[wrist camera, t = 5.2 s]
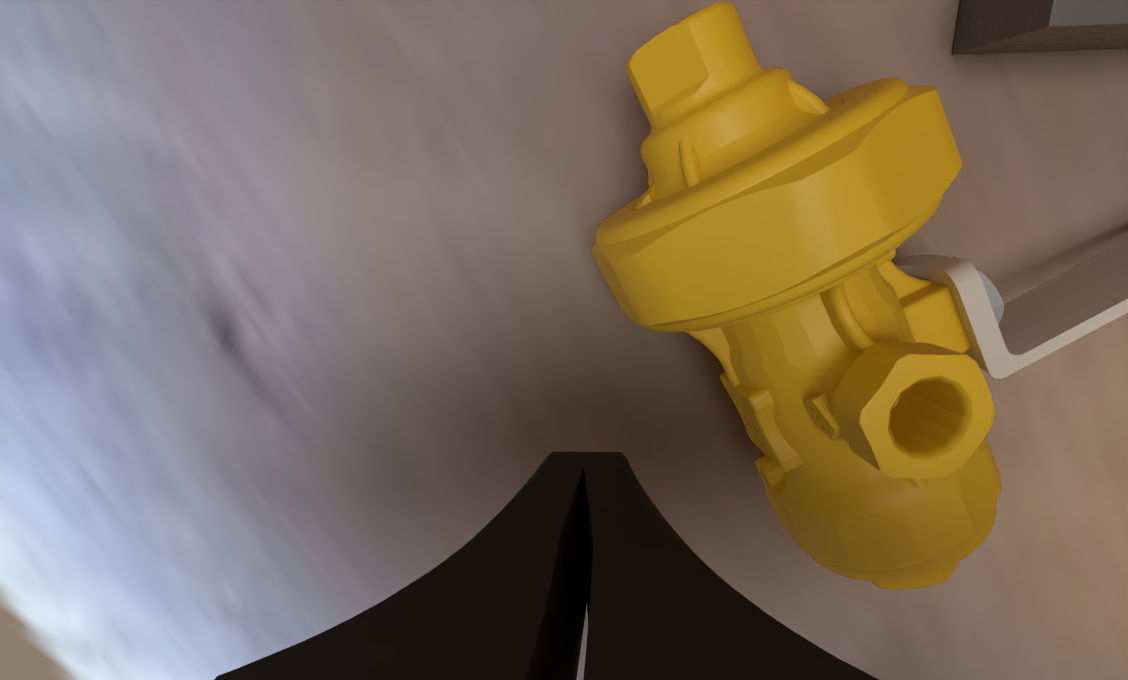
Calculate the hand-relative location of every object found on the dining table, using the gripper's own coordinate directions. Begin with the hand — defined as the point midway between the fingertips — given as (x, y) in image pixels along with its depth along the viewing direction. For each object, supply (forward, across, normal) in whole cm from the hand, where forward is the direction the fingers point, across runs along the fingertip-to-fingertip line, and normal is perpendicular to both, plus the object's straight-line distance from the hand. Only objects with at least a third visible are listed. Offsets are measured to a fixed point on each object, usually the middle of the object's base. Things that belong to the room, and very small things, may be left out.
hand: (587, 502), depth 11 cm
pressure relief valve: (+4, -7, -5) cm, 9 cm away
